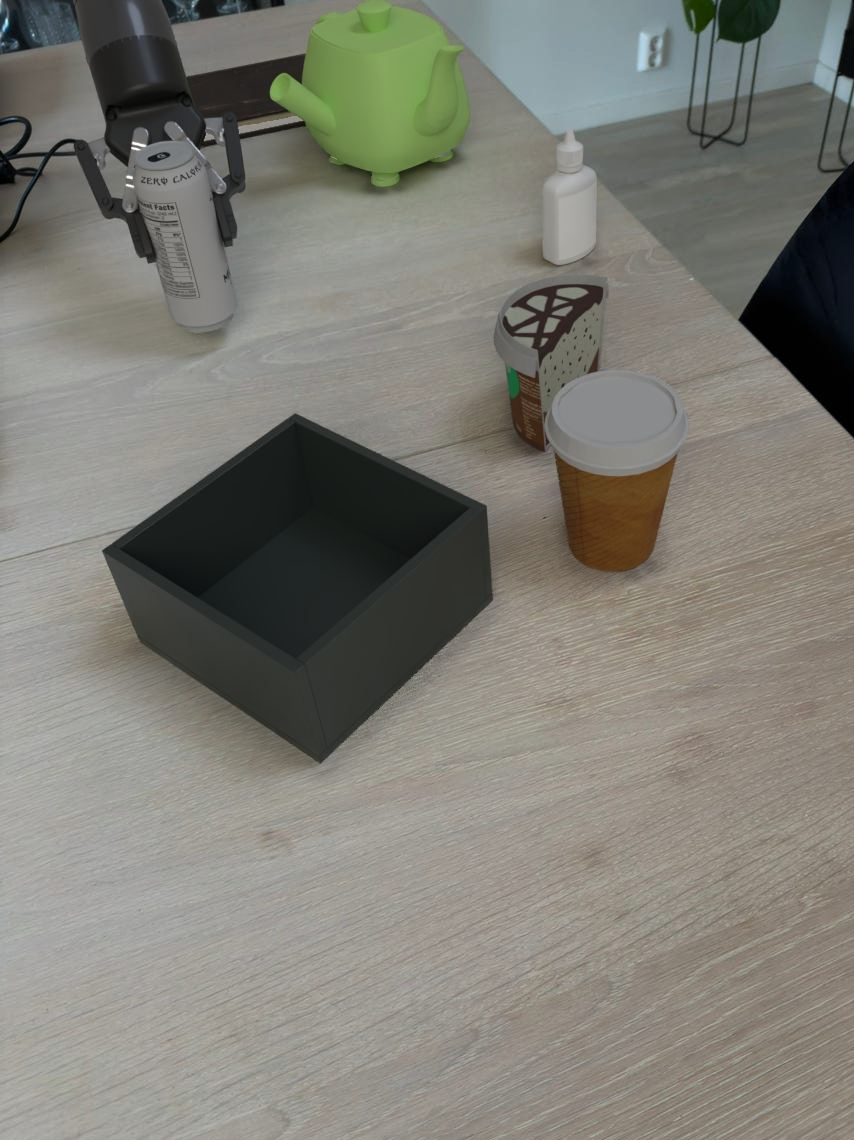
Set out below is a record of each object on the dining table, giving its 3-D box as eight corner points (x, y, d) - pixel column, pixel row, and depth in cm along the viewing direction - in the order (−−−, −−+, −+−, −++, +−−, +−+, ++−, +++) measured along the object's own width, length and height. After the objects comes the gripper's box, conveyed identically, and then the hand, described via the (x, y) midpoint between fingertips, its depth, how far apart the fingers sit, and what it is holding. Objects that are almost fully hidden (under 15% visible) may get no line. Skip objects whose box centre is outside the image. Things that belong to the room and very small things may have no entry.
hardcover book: (356, 114, 135) (354, 95, 134) (166, 154, 131) (161, 134, 129) (323, 67, 146) (320, 48, 144) (145, 102, 141) (140, 83, 140)
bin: (320, 764, 71) (295, 673, 64) (139, 642, 79) (101, 550, 72) (493, 600, 80) (487, 505, 73) (315, 505, 88) (295, 412, 81)
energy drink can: (252, 317, 102) (215, 153, 91) (194, 344, 100) (148, 178, 89) (217, 292, 105) (178, 130, 94) (160, 317, 103) (113, 154, 92)
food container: (543, 362, 99) (541, 256, 91) (606, 380, 96) (609, 273, 89) (469, 440, 92) (461, 333, 84) (536, 462, 90) (533, 354, 82)
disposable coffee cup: (640, 486, 87) (649, 352, 78) (700, 564, 81) (717, 428, 72) (526, 521, 85) (521, 387, 76) (579, 604, 79) (580, 469, 70)
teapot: (237, 168, 127) (204, 17, 116) (386, 106, 136) (370, -40, 125) (373, 245, 114) (351, 82, 102) (528, 171, 123) (525, 13, 111)
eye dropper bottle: (603, 260, 110) (606, 136, 101) (547, 269, 109) (545, 145, 100) (591, 238, 113) (593, 116, 104) (536, 247, 112) (533, 125, 103)
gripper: (38, 48, 90) (99, 256, 91) (216, 17, 93) (274, 219, 94) (54, 92, 97) (110, 284, 98) (218, 62, 100) (272, 249, 101)
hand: (190, 251), depth 96 cm, fingers closed on energy drink can, 6 cm apart
